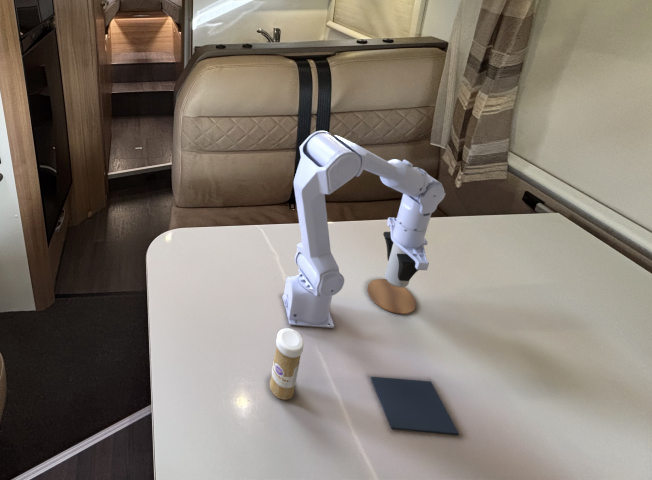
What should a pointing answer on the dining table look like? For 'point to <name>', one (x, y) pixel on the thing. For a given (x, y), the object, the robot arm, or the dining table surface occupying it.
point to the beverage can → (394, 268)
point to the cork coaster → (391, 297)
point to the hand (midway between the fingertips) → (398, 270)
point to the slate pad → (413, 406)
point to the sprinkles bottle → (286, 363)
